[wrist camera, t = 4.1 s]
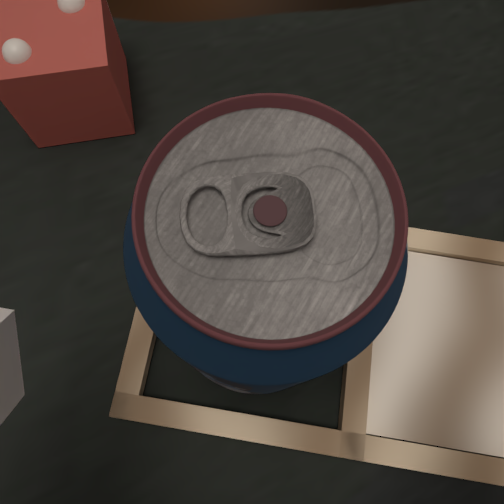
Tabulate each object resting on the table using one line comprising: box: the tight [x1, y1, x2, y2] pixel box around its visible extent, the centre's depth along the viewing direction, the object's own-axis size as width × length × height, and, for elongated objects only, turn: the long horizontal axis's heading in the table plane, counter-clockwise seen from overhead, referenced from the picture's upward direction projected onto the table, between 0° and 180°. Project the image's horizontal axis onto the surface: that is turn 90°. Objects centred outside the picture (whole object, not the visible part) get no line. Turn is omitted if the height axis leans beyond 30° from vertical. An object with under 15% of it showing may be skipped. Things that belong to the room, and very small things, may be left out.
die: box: [0, 0, 135, 148], centre depth 21 cm, size 5×5×6 cm
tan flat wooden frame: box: [109, 227, 504, 486], centre depth 20 cm, size 30×10×1 cm, turn 81°
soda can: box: [123, 93, 408, 394], centre depth 15 cm, size 7×7×12 cm
